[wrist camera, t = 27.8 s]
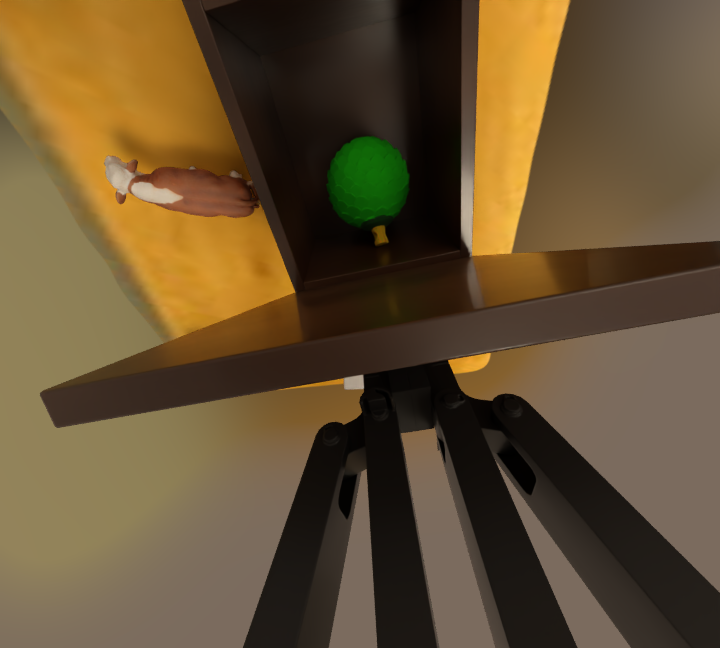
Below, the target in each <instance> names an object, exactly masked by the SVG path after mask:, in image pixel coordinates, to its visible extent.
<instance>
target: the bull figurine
mask: <svg viewBox="0 0 720 648" xmlns="http://www.w3.org/2000/svg"><path fill="white" fill-rule="evenodd" d="M104 164H105V166H106V172H105V173H106V176H107V179H108V180H109V182H110V183H111V184H112V186H113V187H114V188H117V189H118V190H117V192H116V199H117V202H118V203H119V204H123V203H124V201H125V199H126V193H131V194H133V195H134V196H136V197H137V198H139V199H141V200H143V201H146V202H149V203H154V204H156V205H158V206H161V207H163V208H165V209H168V210H173V211H179V212H183V213H187V214H191V215H199V216H205V217H214V216H218V215H224V216H228V217H233V218H237V217H246V216H249V215H251V214H252V213H253V212H254V208H259V205H260V202H259V197H258V194H257V192H256V190H255V187H254V184H253V182H252V181H246V180H243V178H242V174H238V173H237V172H236V171H235V170H233V171H230V173H229V176H228V175H222V176H217V175H215V174H213V173H212V172H210V171H208V170H204V169H196V168H195V167H194V166H190V167H189V169H182V168H174V167H161V168H158V169H156V170H154V171H153V172H152V173H151V174H144V173H140V172H138V171H137V170H136V169H137V164H138V161H137V160H132V161H130V162H129V163H125V162H122V161H121V159H119V158H118V157H116V156H107V157H106V159H105V162H104ZM250 189H251V190H252V191H253V193H254V196H255V197H252V193H251V190H250Z"/></svg>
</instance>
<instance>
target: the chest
mask: <svg viewBox="0 0 720 648" xmlns="http://www.w3.org/2000/svg"><path fill="white" fill-rule="evenodd" d="M182 2H183V4H184V7H185V10H186V12H187V15H188V17H189V20H190V22H191V25H192V28H193V30H194V33H195V35H196V38H197V40H198V43H199V45H200V48H201V51H202V53H203V56H204V58H205V61H206V63H207V66H208V69H209V71H210V74H211V76H212V79H213V81H214V84H215V87H216V89H217V92H218V94H219V97H220V99H221V102H222V105H223V107H224V110H225V112H226V115H227V117H228V120H229V123H230V125H231V128H232V130H233V133H234V135H235V138H236V140H237V143H238V146H239V148H240V151H241V153H242V156H243V158H244V161H245V164H246V166H247V169H248V171H249V174H250V176H251V179H252V182H253V184H254V187H255V189H256V192H257V194H258V197H259V200H260V202H261V205H262V207H263V210H264V212H265V215H266V218H267V220H268V223H269V225H270V228H271V230H272V233H273V236H274V238H275V241H276V243H277V246H278V248H279V251H280V253H281V256H282V259H283V261H284V264H285V266H286V269H287V271H288V274H289V277H290V279H291V282H292V284H293V287H294V289H295V292H300V291H305V290H310V289H315V288H320V287H324V286H329V285H334V284H339V283H344V282H349V281H354V280H359V279H363V278H368V277H373V276H378V275H383V274H388V273H393V272H398V271H403V270H407V269H412V268H417V267H422V266H427V265H432V264H437V263H442V262H446V261H451V260H456V259H461V258H466V257H471V256H472V233H473V199H474V165H475V131H476V97H477V62H478V28H479V0H182ZM366 136H369V137H371V136H374V137H377V138H380V139H381V140H382V141H383V140H384V139H385V140H387V141H388V142H389V143H390V144H392V146H393V148H394V149H395V148H397V149H398V150H399V152H400V153H401V157H402V160H405V161H406V165H407V174H410V178H409V184H408V185H409V187H408V188H410V190H409V193H408V195H407V198H406V201H405V202H406V203H405V204H404V206H403V207H402V208H401V210H400V213H399V214H398V215H397V216H396V217H394V218H393V221H392V222H391V224H389V225H388V226H387V227H385V234H386V236H387V239H388V243H387V244H385V245H382V246H375V237H374V235H373V233H372V231H364V230H362V229H361V228H358V227H355V226H352V225H350V224H348V223H347V222H345V221H344V220H343V219H341V218H340V217H339V215H338V214H337V212H336V211H335V210H334V209H333V205H332V204H331V202H330V201H329V198H328V197H330V195H329V193H328V191H327V186H326V184H329V183H328V177H327V174H328V170H330V165H331V161H332V159H333V158H335V156H336V153H337V152H338V151H340V150H341V148H342V147H343V145H344V144H346V143H347V142H348V143H350V142H351V140H353V139H355V138H359V137H366Z"/></svg>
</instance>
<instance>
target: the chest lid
mask: <svg viewBox="0 0 720 648" xmlns="http://www.w3.org/2000/svg"><path fill="white" fill-rule="evenodd" d="M715 313H720V241H713V242H697V243H680V244H664V245H648V246H632V247H614V248H598V249H581V250H565V251H548V252H532V253H515V254H499V255H482V256H471V257H466V258H461V259H456V260H451V261H446V262H442V263H437V264H432V265H427V266H422V267H417V268H412V269H407V270H403V271H398V272H393V273H388V274H383V275H378V276H373V277H368V278H363V279H359V280H354V281H349V282H344V283H339V284H334V285H329V286H324V287H320V288H315V289H310V290H305V291H300V292H295V293H292V294H290V295H287V296H285V297H282V298H280V299H277V300H274V301H272V302H269V303H267V304H264V305H262V306H259V307H256V308H254V309H251V310H249V311H246V312H244V313H241V314H238V315H236V316H233V317H231V318H228V319H226V320H223V321H220V322H218V323H215V324H213V325H210V326H208V327H205V328H202V329H200V330H197V331H195V332H192V333H190V334H187V335H185V336H182V337H179V338H177V339H174V340H172V341H169V342H167V343H164V344H161V345H159V346H156V347H154V348H151V349H149V350H146V351H143V352H141V353H138V354H136V355H133V356H131V357H128V358H125V359H123V360H120V361H118V362H115V363H113V364H110V365H107V366H105V367H102V368H100V369H97V370H95V371H92V372H90V373H87V374H84V375H82V376H79V377H77V378H74V379H71V380H69V381H66V382H64V383H61V384H59V385H56V386H54V387H51V388H48V389H46V390H44V391H42V392H41V393H40V396H41V398H42V400H43V403H44V405H45V406H46V409H47V411H48V413H49V415H50V417H51V419H52V421H53V424H54V425H55V427H57V428H60V427H66V426H72V425H77V424H83V423H89V422H95V421H100V420H106V419H112V418H117V417H123V416H129V415H135V414H141V413H146V412H152V411H158V410H163V409H169V408H174V407H181V406H186V405H192V404H198V403H204V402H210V401H215V400H221V399H226V398H233V397H238V396H243V395H250V394H256V393H261V392H267V391H273V390H278V389H284V388H290V387H296V386H301V385H307V384H313V383H319V382H324V381H330V380H336V379H342V378H347V377H353V376H359V375H365V374H370V373H376V372H382V371H388V370H393V369H399V368H405V367H411V366H416V365H422V364H428V363H433V362H439V361H445V360H451V359H456V358H462V357H468V356H474V355H479V354H485V353H491V352H497V351H502V350H508V349H514V348H519V347H525V346H531V345H537V344H542V343H548V342H554V341H559V340H565V339H571V338H577V337H582V336H588V335H594V334H600V333H606V332H611V331H617V330H622V329H628V328H634V327H639V326H646V325H651V324H657V323H663V322H669V321H674V320H680V319H686V318H691V317H697V316H703V315H709V314H715Z"/></svg>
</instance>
